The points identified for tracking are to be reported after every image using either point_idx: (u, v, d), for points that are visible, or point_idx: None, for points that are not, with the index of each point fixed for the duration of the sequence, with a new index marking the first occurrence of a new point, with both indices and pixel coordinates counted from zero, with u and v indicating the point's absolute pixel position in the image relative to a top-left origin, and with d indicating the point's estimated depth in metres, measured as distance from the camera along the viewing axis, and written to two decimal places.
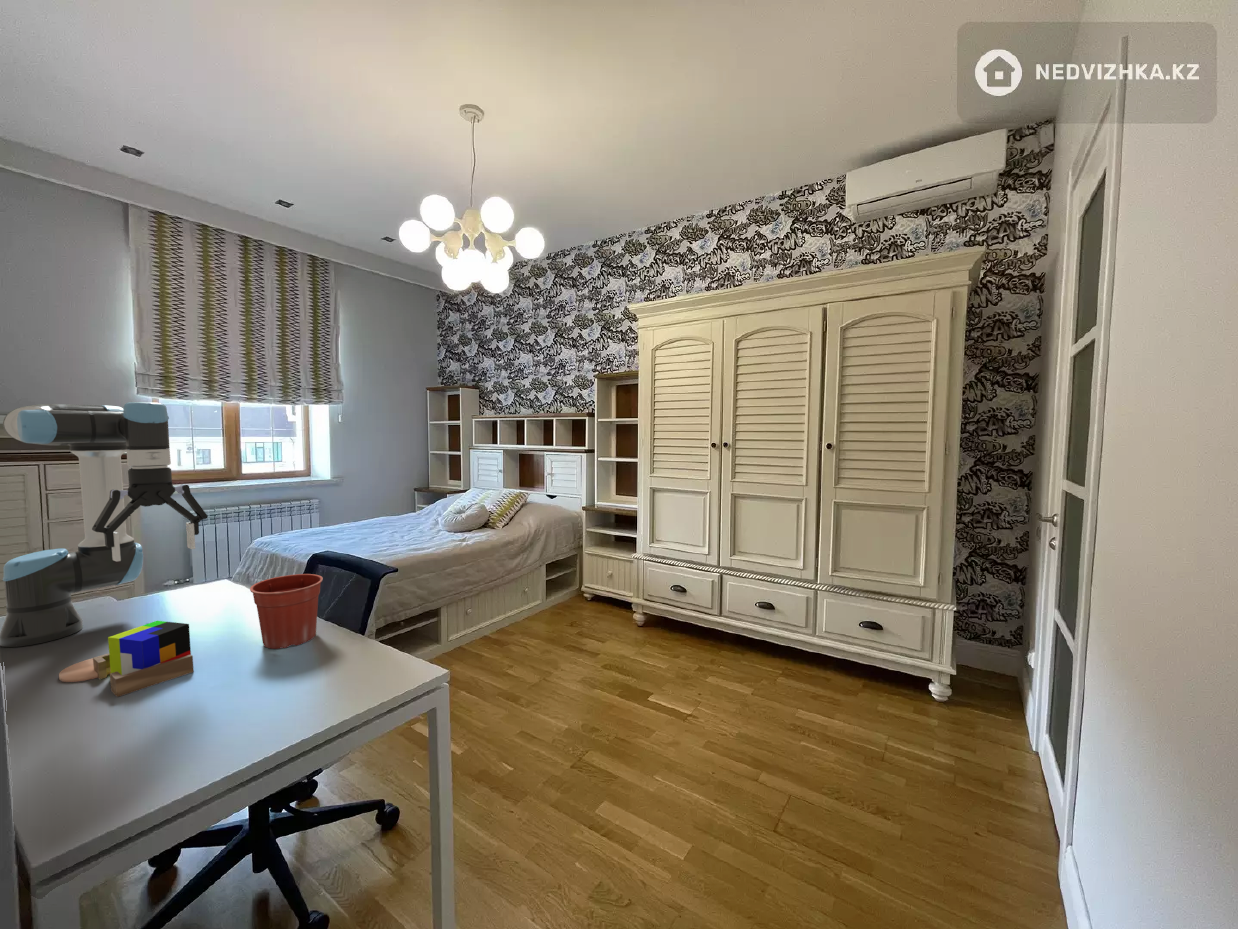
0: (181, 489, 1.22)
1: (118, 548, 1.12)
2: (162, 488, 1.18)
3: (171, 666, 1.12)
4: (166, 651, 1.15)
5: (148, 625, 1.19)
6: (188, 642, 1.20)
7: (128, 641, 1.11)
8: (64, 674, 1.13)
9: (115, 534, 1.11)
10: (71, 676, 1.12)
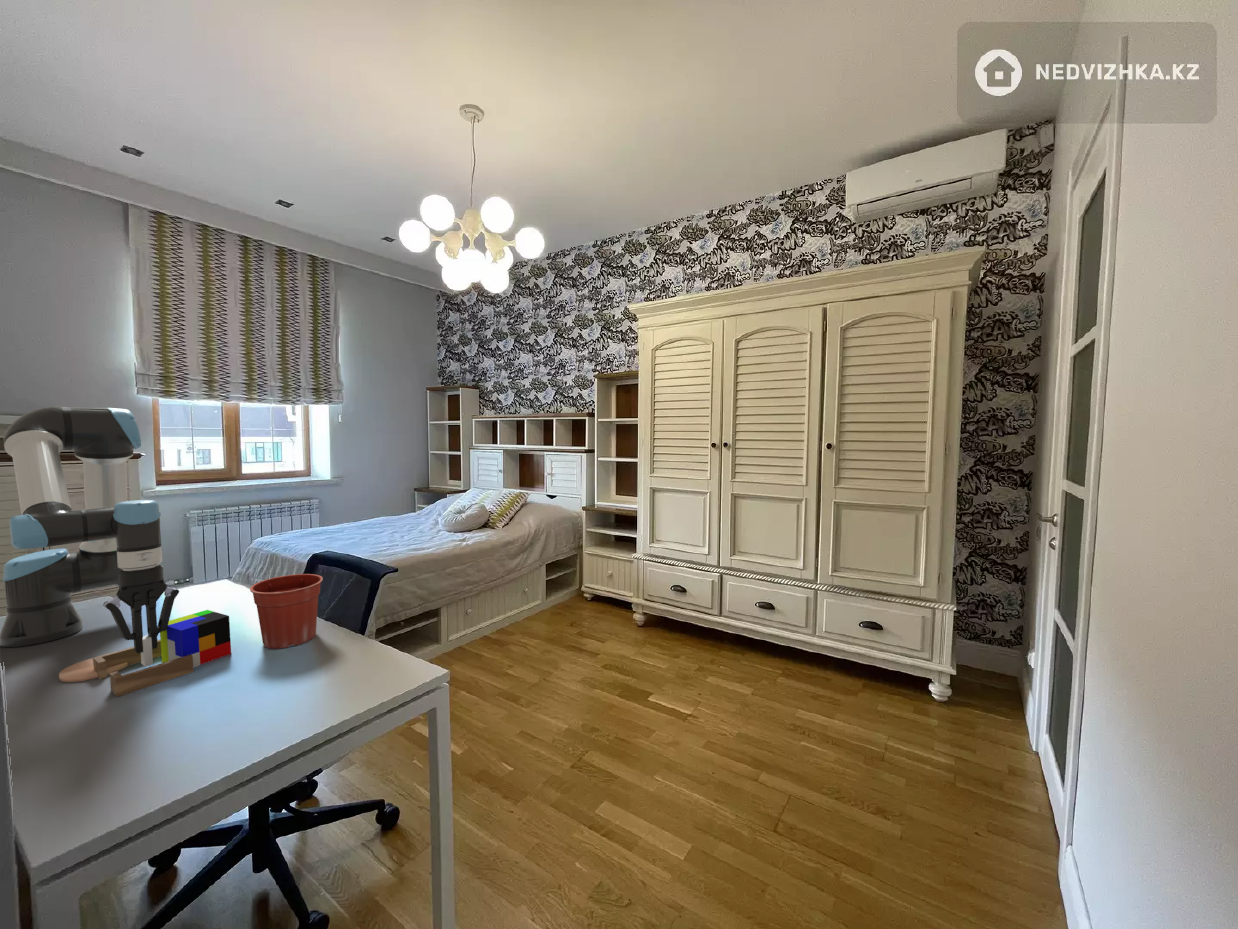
0: (170, 592, 1.18)
1: (147, 653, 1.15)
2: (157, 583, 1.16)
3: (171, 666, 1.12)
4: (205, 641, 1.20)
5: (197, 614, 1.26)
6: (228, 633, 1.25)
7: (172, 629, 1.17)
8: (64, 674, 1.13)
9: (144, 640, 1.14)
10: (71, 676, 1.12)
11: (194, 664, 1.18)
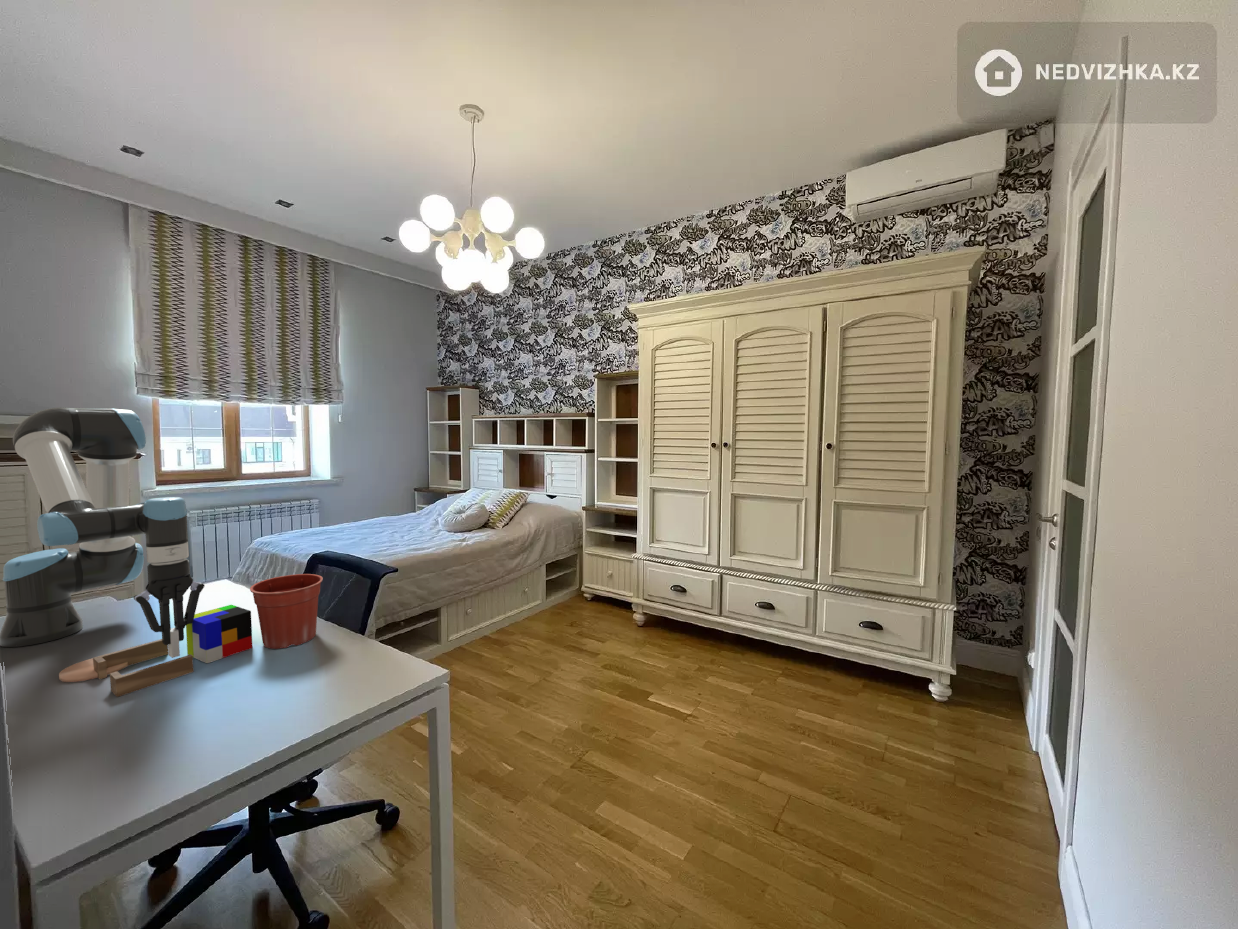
0: (195, 586, 1.22)
1: (174, 645, 1.19)
2: (183, 577, 1.20)
3: (171, 666, 1.12)
4: (227, 635, 1.24)
5: (221, 608, 1.30)
6: (250, 628, 1.28)
7: (197, 622, 1.21)
8: (64, 674, 1.13)
9: (172, 632, 1.18)
10: (71, 676, 1.12)
11: (217, 657, 1.22)
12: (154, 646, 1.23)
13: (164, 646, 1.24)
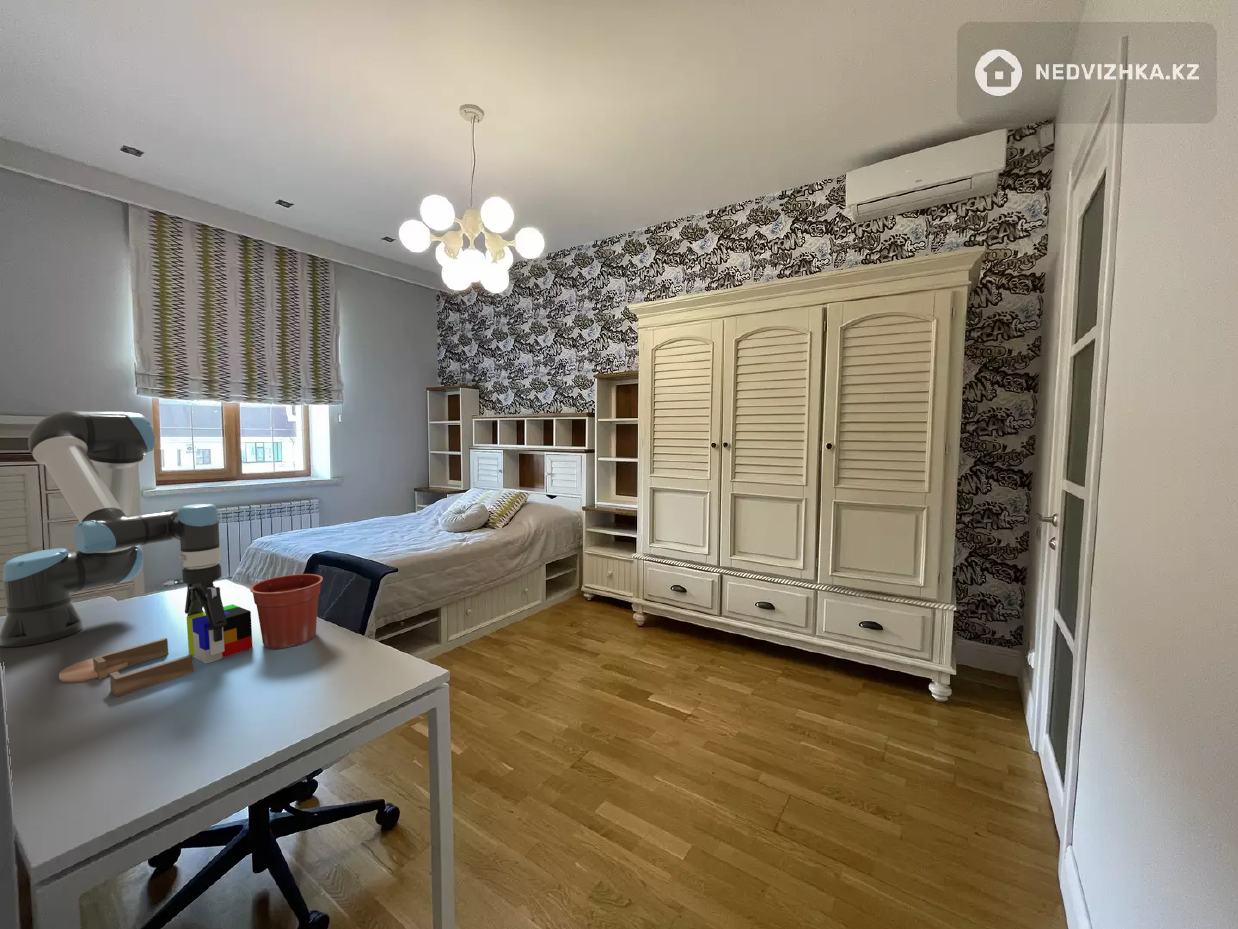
0: None
1: None
2: (200, 587, 1.22)
3: (171, 666, 1.12)
4: (227, 635, 1.24)
5: None
6: (249, 628, 1.28)
7: (197, 622, 1.21)
8: (64, 674, 1.13)
9: None
10: (71, 676, 1.12)
11: (216, 657, 1.22)
12: (154, 646, 1.23)
13: (164, 646, 1.24)
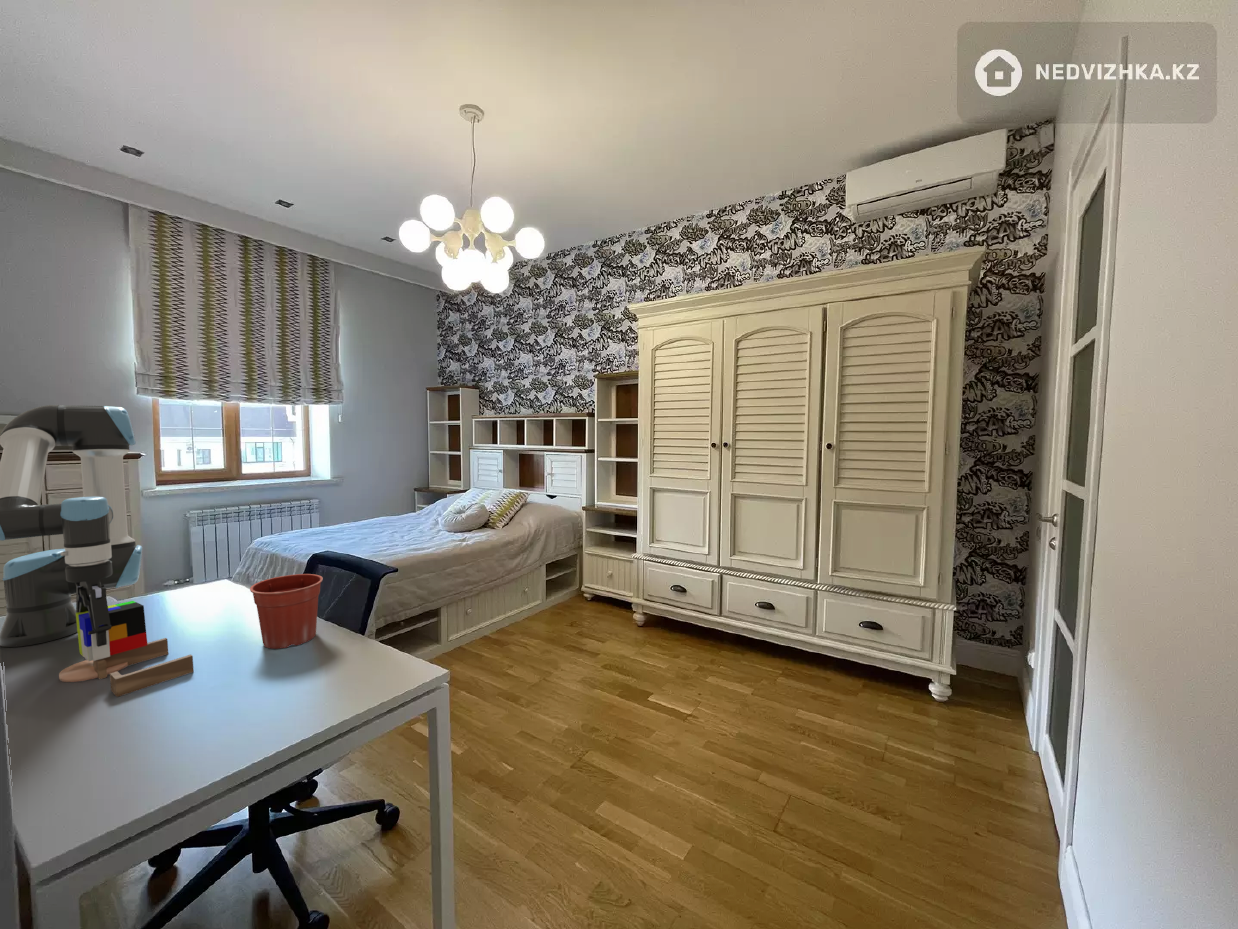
0: None
1: None
2: (85, 585, 1.14)
3: (171, 666, 1.12)
4: (115, 630, 1.16)
5: (118, 604, 1.23)
6: (143, 624, 1.20)
7: (81, 617, 1.14)
8: (64, 674, 1.13)
9: None
10: (71, 676, 1.12)
11: None
12: (154, 646, 1.23)
13: (164, 646, 1.24)
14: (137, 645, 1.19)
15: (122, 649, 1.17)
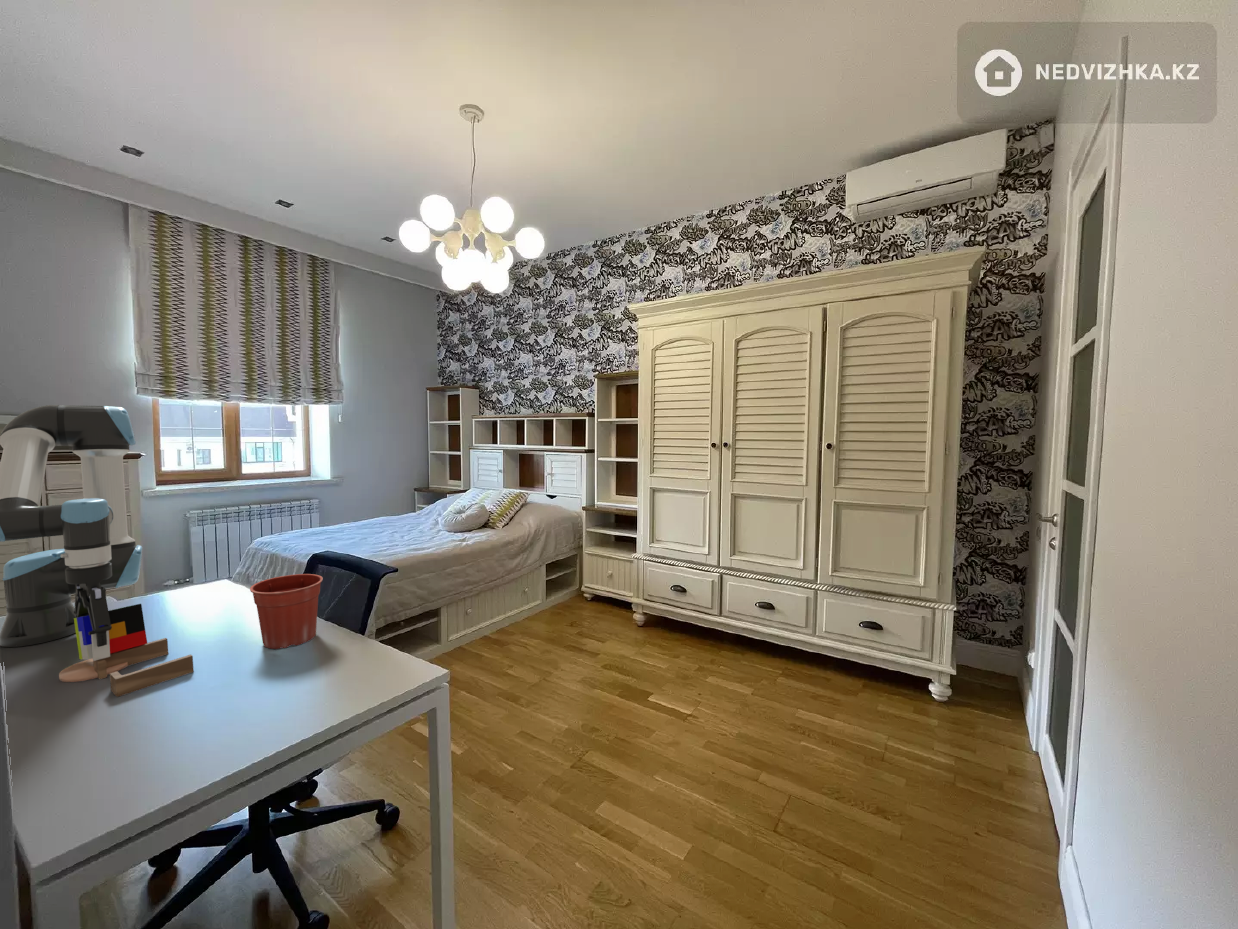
0: None
1: None
2: (85, 588, 1.14)
3: (171, 666, 1.12)
4: (113, 628, 1.17)
5: None
6: (142, 622, 1.21)
7: (79, 618, 1.15)
8: (64, 674, 1.13)
9: None
10: (71, 676, 1.12)
11: None
12: (154, 646, 1.23)
13: (164, 646, 1.24)
14: (137, 643, 1.19)
15: (122, 647, 1.17)
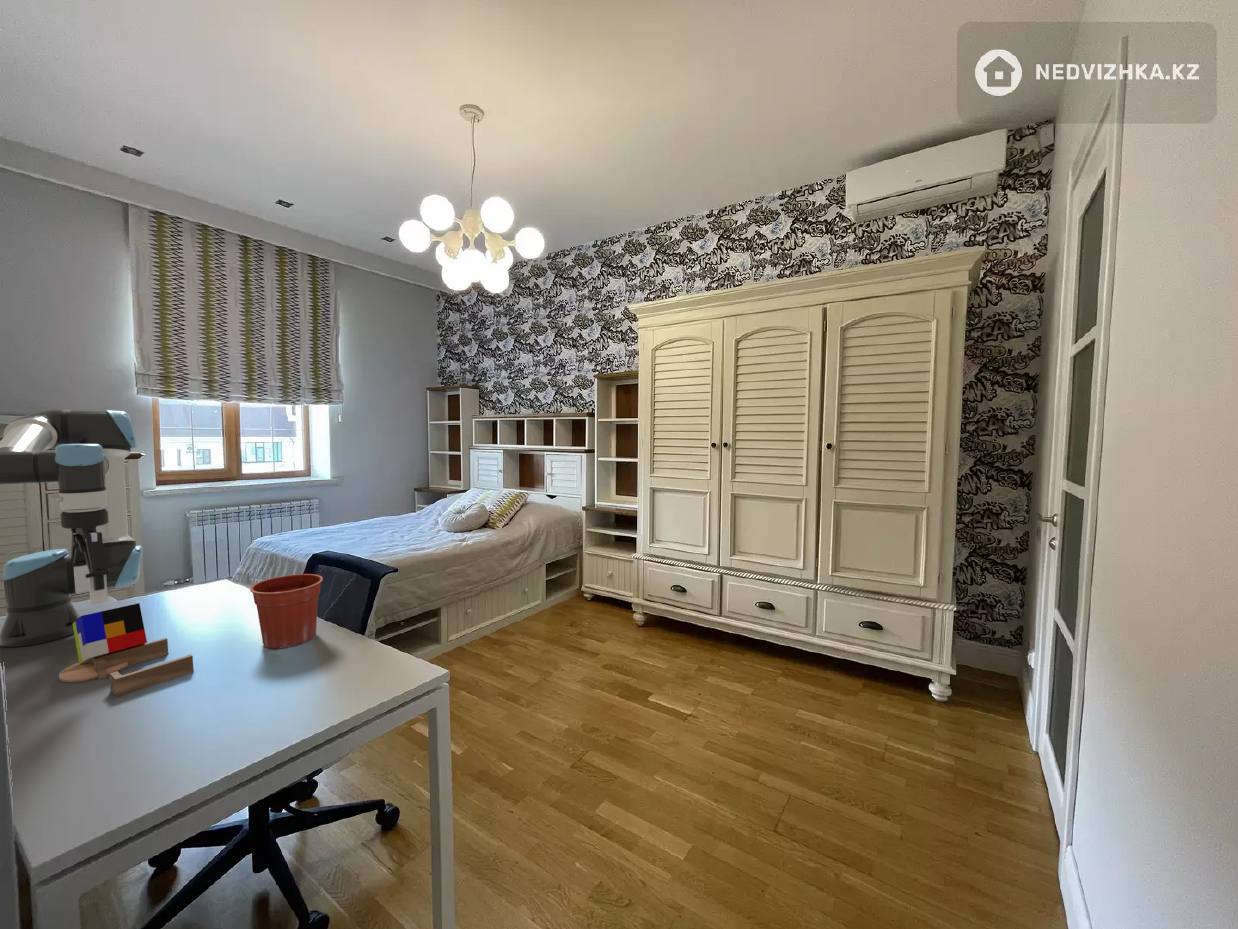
0: None
1: (75, 581, 1.18)
2: (81, 533, 1.13)
3: (171, 666, 1.12)
4: (112, 627, 1.17)
5: None
6: (140, 621, 1.21)
7: (77, 620, 1.16)
8: (64, 674, 1.13)
9: (74, 568, 1.18)
10: (71, 676, 1.12)
11: (101, 651, 1.14)
12: (154, 646, 1.23)
13: (164, 646, 1.24)
14: (136, 642, 1.20)
15: (121, 646, 1.17)
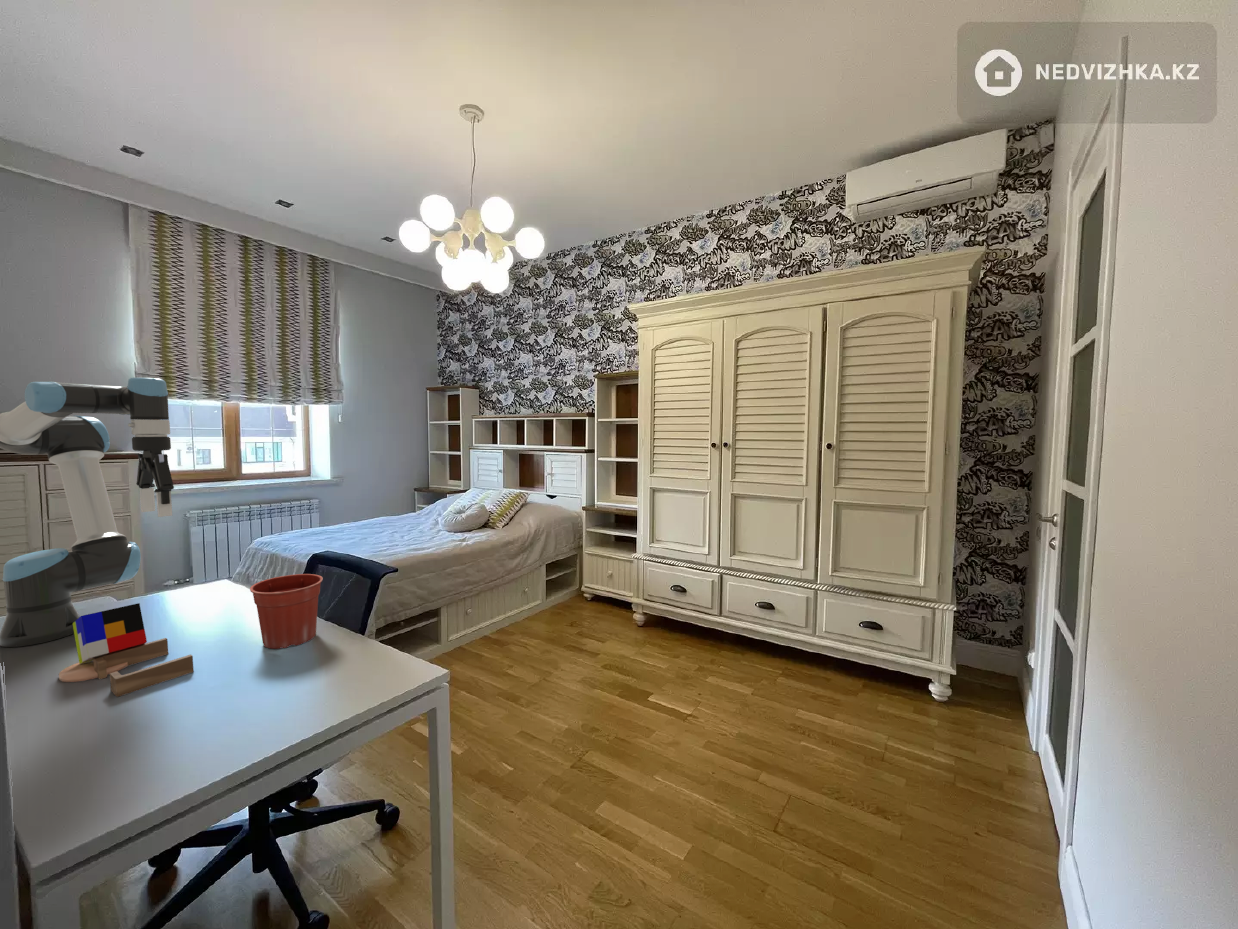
0: None
1: (141, 501, 1.35)
2: (149, 455, 1.30)
3: (171, 666, 1.12)
4: (112, 627, 1.17)
5: None
6: (140, 621, 1.21)
7: (77, 620, 1.16)
8: (64, 674, 1.13)
9: (140, 489, 1.35)
10: (71, 676, 1.12)
11: (101, 651, 1.14)
12: (154, 646, 1.23)
13: (164, 646, 1.24)
14: (136, 642, 1.20)
15: (121, 646, 1.17)
